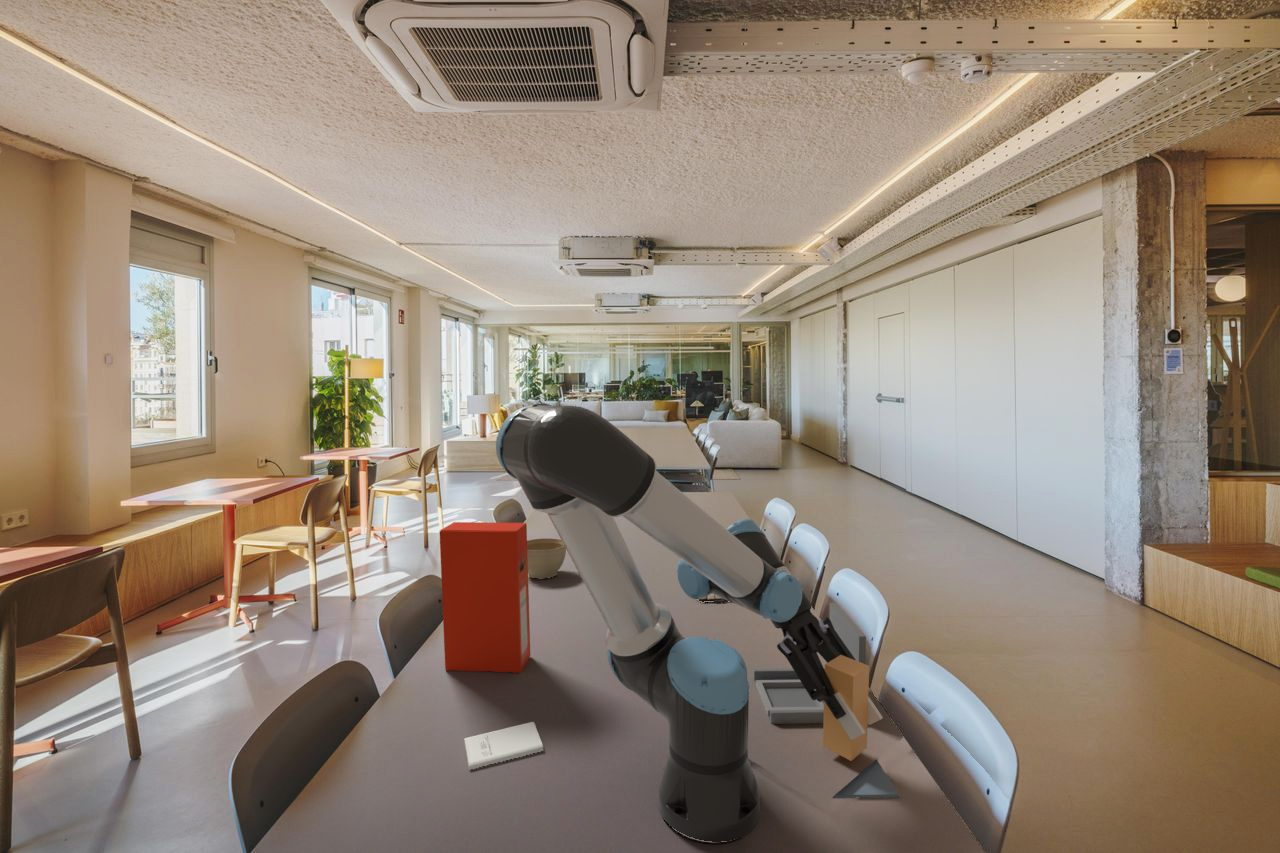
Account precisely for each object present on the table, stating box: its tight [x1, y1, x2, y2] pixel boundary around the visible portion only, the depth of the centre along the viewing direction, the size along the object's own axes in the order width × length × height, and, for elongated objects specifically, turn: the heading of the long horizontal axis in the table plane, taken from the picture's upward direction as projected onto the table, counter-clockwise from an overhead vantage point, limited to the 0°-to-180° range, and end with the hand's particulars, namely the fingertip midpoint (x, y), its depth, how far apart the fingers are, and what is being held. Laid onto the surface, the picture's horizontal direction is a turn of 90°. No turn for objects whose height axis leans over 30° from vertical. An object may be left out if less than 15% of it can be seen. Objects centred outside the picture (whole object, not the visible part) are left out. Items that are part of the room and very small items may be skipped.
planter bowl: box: [527, 537, 567, 579], centre depth 192 cm, size 16×16×11 cm
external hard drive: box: [463, 721, 544, 771], centre depth 100 cm, size 2×8×12 cm
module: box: [822, 655, 870, 762], centre depth 93 cm, size 5×5×14 cm
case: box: [753, 602, 867, 725], centre depth 111 cm, size 18×16×18 cm
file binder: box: [439, 521, 531, 674], centre depth 129 cm, size 8×17×32 cm, turn 85°
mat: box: [832, 759, 900, 799], centre depth 91 cm, size 10×10×1 cm
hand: (867, 728), depth 91 cm, fingers closed on module, 5 cm apart
